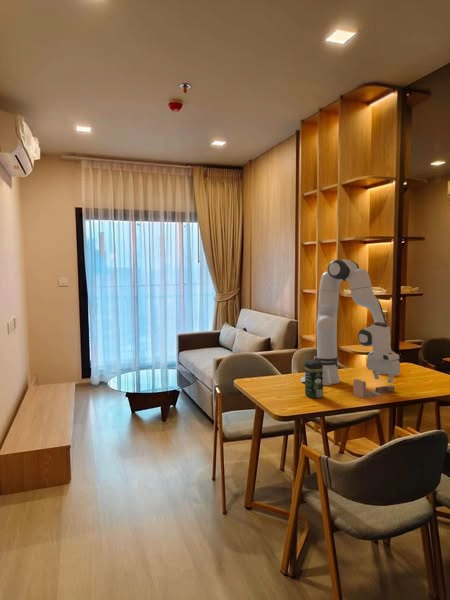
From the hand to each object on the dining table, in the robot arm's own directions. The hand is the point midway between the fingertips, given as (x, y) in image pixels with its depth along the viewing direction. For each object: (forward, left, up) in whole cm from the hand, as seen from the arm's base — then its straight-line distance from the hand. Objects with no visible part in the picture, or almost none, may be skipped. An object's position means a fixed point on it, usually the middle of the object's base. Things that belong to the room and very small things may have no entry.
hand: (383, 380), depth 209 cm
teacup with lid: (+3, +44, -7) cm, 44 cm away
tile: (-11, -7, -6) cm, 15 cm away
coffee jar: (-35, -11, -7) cm, 37 cm away
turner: (-2, -1, -7) cm, 7 cm away
